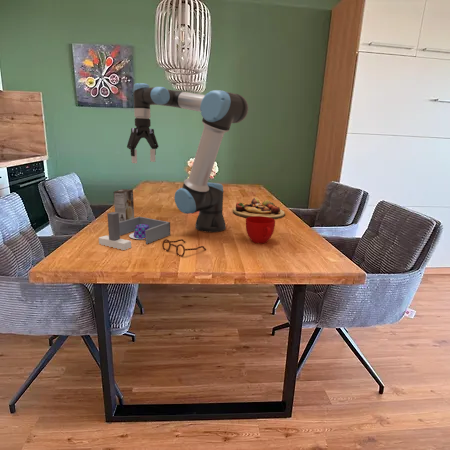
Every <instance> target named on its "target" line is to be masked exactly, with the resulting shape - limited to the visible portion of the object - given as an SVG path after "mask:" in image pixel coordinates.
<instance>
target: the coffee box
mask: <svg viewBox="0 0 450 450" xmlns="http://www.w3.org/2000/svg"><path fill="white" fill-rule="evenodd" d="M113 200H114V201H113V203H114V204H113V205H114V212H116V213H119V222H122V221H125V220H129V219H132V218H135V206H134V204H135V201H134V189H127V188H126V189H125V188H122V189H118V190H115V191H113Z"/></svg>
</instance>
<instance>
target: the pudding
mask: <svg viewBox="0 0 450 450" xmlns="http://www.w3.org/2000/svg"><path fill="white" fill-rule="evenodd" d="M147 229H150V227H149V225H147V224H139V225H137V226H136V227H135V231H133V232H130V233H129V235H128V236H129V238H131V239H136V240H144V238H146V234H145V230H147Z"/></svg>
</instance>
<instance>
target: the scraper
mask: <svg viewBox="0 0 450 450" xmlns="http://www.w3.org/2000/svg"><path fill="white" fill-rule="evenodd" d="M107 228H108V235H103V236H99V237H98V245H100V244H101V245H100V246H104V245H105V246H104V247H107V246H109V248H111V247H113V248H112V249H115V248H117V249H116V250H119V249H121V250H120V251H123V250H125V251H127V250H129V249H128V248H130V249H132V241H131V240H129V239H123V238H121V236H120V229H119V213H116V212H115V211H112V212H108V213H107ZM126 249H127V250H126Z"/></svg>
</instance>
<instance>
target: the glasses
mask: <svg viewBox="0 0 450 450" xmlns="http://www.w3.org/2000/svg"><path fill="white" fill-rule="evenodd" d="M178 242H183V243H184V244H185V242H186V241H185V240H184V239H181V238H180V239H177V240H169V239H167V238H166V239H163V240H162V244H161V247H162V249H163V251H165V250H166V251H165V252H169V251H170V250H171V247H174V248H175V253H176V255H177V256H178V255H179V256H178V257H180V256H182V257H184V256H185V253H186V252H187V251H197V250H199V249H201V248H202V249H203V250H204V251H206V247H205V246H204V245H200V246H197V247H193V248H186V247H185V245H184V244H180V243H179V244H174V243H178ZM165 244H168V248H167V249H166V248H165ZM180 247H182V249H183V251H182V252H183V253H182V254H179V252H178V251H179V250H178V249H179V248H180Z"/></svg>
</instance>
